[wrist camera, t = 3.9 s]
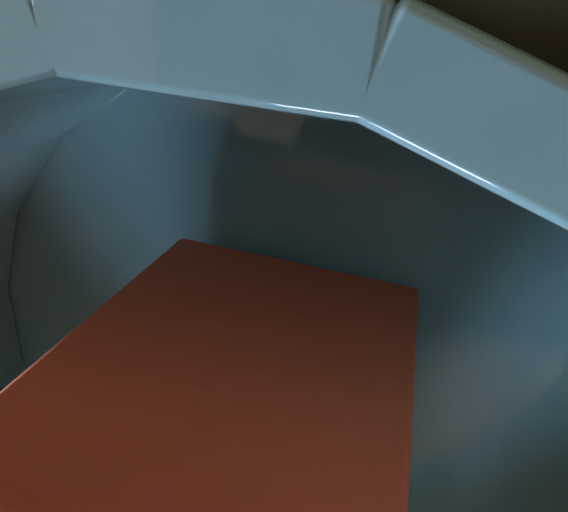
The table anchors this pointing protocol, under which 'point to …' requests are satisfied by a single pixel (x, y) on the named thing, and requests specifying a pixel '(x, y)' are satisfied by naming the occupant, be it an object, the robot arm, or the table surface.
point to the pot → (308, 194)
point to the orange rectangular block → (220, 394)
